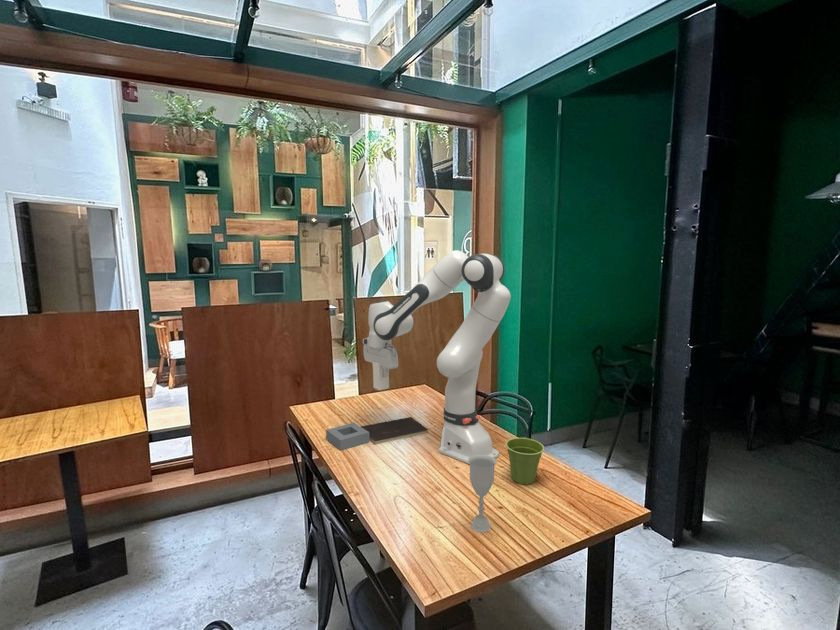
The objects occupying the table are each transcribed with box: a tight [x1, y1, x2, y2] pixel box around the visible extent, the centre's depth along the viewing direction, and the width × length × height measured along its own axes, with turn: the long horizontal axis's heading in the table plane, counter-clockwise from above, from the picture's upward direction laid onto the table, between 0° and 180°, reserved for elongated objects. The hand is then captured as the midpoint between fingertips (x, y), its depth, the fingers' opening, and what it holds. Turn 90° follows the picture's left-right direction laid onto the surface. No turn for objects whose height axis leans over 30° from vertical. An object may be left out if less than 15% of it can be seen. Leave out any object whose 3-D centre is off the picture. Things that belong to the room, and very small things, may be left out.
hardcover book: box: [359, 416, 429, 445], centre depth 173 cm, size 16×23×2 cm
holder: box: [325, 422, 370, 451], centre depth 164 cm, size 12×12×4 cm
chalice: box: [468, 455, 497, 533], centre depth 111 cm, size 7×7×18 cm
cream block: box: [372, 361, 390, 391], centre depth 172 cm, size 4×4×11 cm
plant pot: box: [505, 437, 545, 485], centre depth 135 cm, size 12×12×11 cm
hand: (381, 375), depth 172 cm, fingers closed on cream block, 4 cm apart
